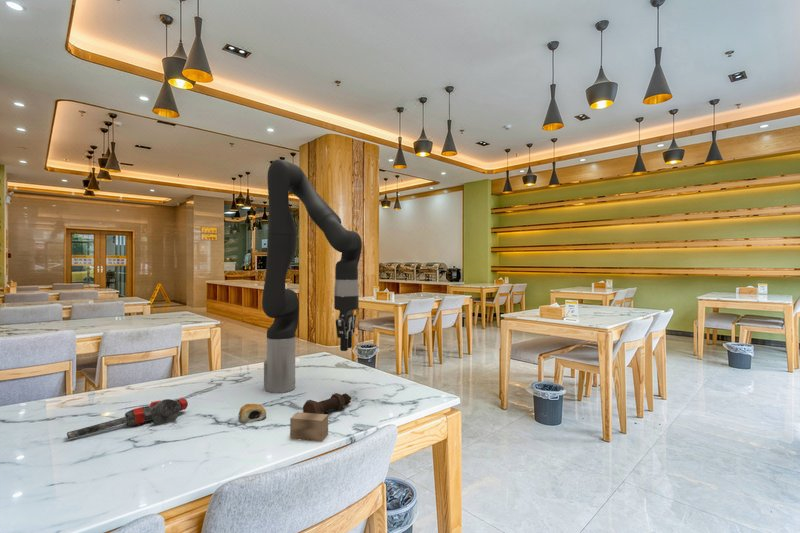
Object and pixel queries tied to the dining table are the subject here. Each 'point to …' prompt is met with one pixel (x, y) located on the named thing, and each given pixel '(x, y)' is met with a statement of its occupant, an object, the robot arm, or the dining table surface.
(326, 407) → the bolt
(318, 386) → the dining table surface
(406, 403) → the dining table surface
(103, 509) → the dining table surface
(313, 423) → the brown wooden block
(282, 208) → the robot arm
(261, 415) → the pastry
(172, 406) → the dark long red-banded part
